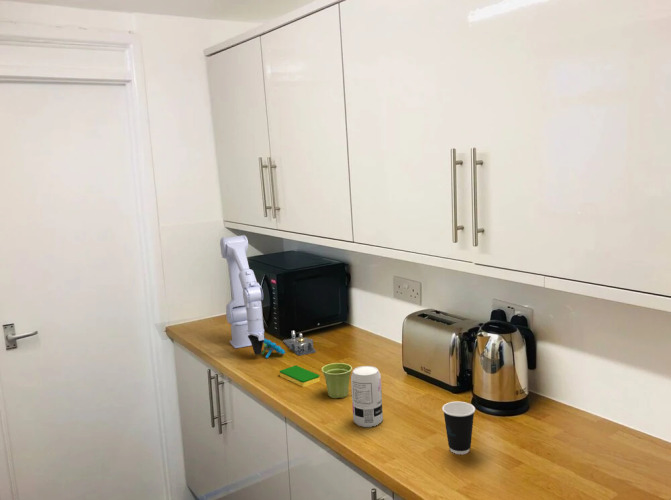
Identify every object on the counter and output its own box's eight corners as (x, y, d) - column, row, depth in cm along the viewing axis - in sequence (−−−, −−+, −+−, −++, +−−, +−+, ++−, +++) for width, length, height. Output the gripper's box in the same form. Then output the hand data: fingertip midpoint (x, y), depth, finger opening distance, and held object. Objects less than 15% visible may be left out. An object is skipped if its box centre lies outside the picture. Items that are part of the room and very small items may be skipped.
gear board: (280, 343, 237) (279, 327, 235) (302, 339, 240) (301, 323, 239) (295, 356, 220) (294, 339, 219) (318, 351, 224) (317, 335, 223)
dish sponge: (296, 371, 206) (296, 364, 206) (320, 382, 196) (320, 375, 195) (279, 377, 202) (278, 370, 202) (303, 388, 191) (302, 381, 191)
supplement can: (348, 419, 167) (345, 368, 164) (374, 412, 170) (372, 363, 167) (361, 431, 159) (358, 378, 157) (388, 423, 163) (385, 372, 160)
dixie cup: (479, 445, 148) (479, 404, 146) (470, 460, 142) (470, 417, 140) (449, 439, 152) (447, 399, 150) (439, 454, 145) (437, 412, 143)
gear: (290, 352, 219) (271, 337, 215) (282, 366, 217) (262, 351, 213) (277, 349, 229) (258, 335, 224) (268, 362, 227) (249, 348, 222)
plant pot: (334, 386, 190) (333, 360, 189) (359, 392, 185) (357, 365, 183) (317, 397, 183) (315, 370, 181) (342, 403, 177) (340, 376, 176)
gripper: (239, 315, 222) (242, 350, 224) (249, 325, 209) (252, 361, 211) (257, 312, 225) (260, 346, 227) (268, 321, 212) (271, 358, 214)
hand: (257, 353), depth 219 cm, fingers closed, pressing on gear
